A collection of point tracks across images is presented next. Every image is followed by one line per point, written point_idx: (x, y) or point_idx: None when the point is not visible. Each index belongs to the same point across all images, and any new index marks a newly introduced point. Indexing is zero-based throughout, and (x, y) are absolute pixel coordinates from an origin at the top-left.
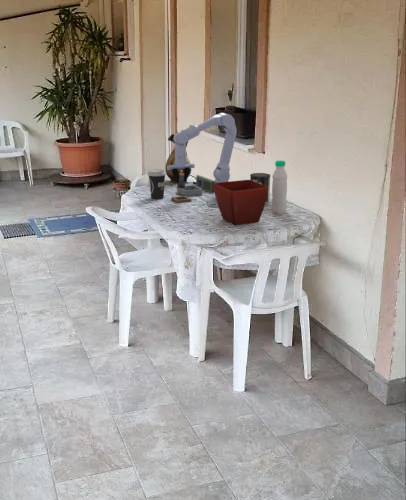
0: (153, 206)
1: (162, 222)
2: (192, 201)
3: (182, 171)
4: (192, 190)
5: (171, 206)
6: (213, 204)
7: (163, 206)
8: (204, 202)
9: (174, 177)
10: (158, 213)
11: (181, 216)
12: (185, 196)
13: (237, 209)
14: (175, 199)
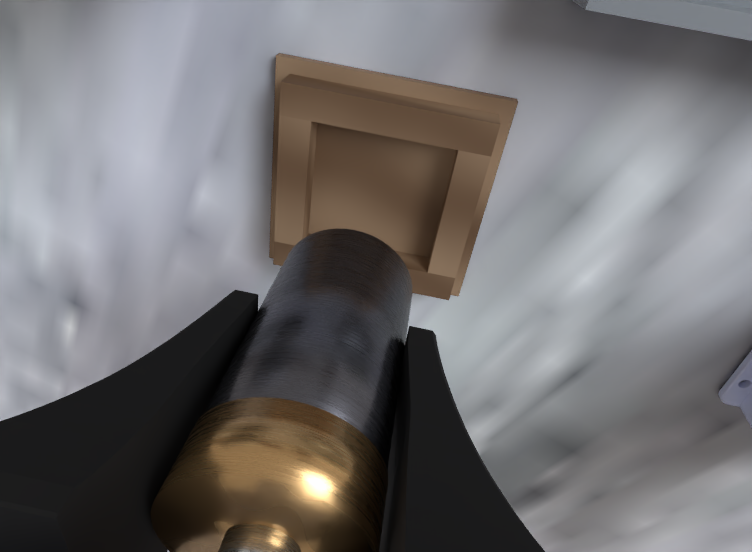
0: (25, 211)
1: None
2: (458, 295)
3: (338, 532)
4: (743, 37)
5: (194, 303)
6: (561, 441)
7: (122, 264)
8: (553, 357)
9: (163, 352)
10: (47, 400)
11: None
12: (477, 151)
13: None
14: (279, 218)
